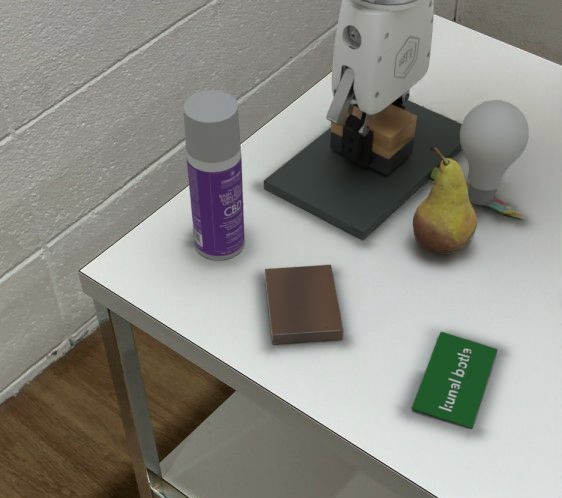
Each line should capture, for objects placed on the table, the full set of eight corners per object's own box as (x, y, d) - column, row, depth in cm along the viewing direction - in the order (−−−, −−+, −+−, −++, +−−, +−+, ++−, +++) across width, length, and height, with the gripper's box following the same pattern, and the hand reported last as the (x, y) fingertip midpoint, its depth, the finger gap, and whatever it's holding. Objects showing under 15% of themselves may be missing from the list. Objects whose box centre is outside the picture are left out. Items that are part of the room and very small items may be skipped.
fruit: (466, 271, 86) (489, 165, 76) (404, 259, 87) (419, 152, 77) (475, 231, 89) (498, 124, 80) (415, 220, 90) (431, 113, 81)
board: (379, 95, 103) (380, 87, 102) (474, 137, 98) (475, 129, 97) (263, 188, 93) (263, 180, 92) (362, 240, 88) (363, 232, 88)
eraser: (356, 126, 97) (358, 88, 94) (412, 153, 94) (417, 115, 91) (329, 147, 95) (331, 109, 92) (386, 175, 92) (390, 137, 89)
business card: (496, 351, 80) (439, 333, 81) (497, 349, 80) (440, 331, 80) (471, 429, 75) (411, 409, 76) (472, 427, 74) (411, 407, 75)
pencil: (527, 219, 90) (376, 143, 98) (529, 210, 90) (377, 134, 97) (519, 226, 90) (368, 149, 97) (522, 217, 89) (369, 140, 96)
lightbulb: (493, 177, 94) (515, 80, 86) (522, 216, 90) (547, 119, 82) (437, 189, 93) (453, 93, 84) (464, 229, 89) (484, 132, 81)
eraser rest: (330, 273, 86) (331, 264, 85) (342, 339, 80) (343, 330, 80) (264, 278, 85) (264, 268, 84) (272, 344, 80) (272, 335, 79)
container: (234, 265, 86) (227, 128, 75) (186, 253, 87) (172, 116, 76) (251, 232, 89) (247, 95, 77) (205, 221, 90) (194, 84, 78)
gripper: (365, 29, 75) (351, 206, 89) (478, -52, 83) (448, 122, 97) (291, -3, 78) (289, 174, 92) (407, -77, 86) (389, 95, 100)
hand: (371, 146), depth 94 cm, fingers closed on eraser, 4 cm apart
